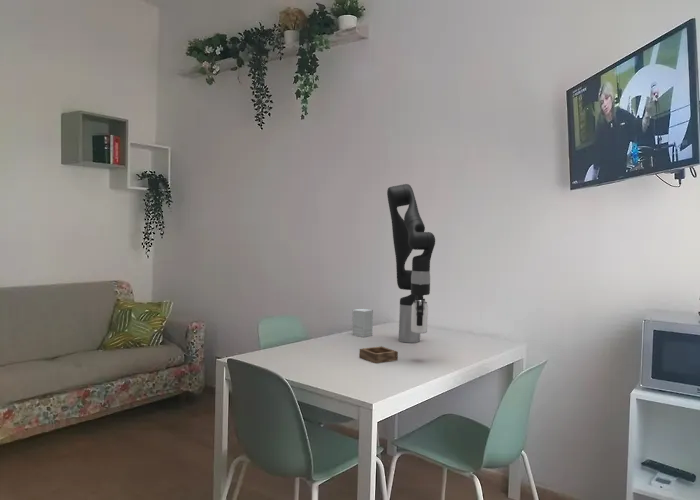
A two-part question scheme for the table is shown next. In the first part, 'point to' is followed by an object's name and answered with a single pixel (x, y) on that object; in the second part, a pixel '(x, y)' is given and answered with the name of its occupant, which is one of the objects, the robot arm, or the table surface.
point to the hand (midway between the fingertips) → (419, 323)
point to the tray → (378, 354)
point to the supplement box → (362, 322)
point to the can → (414, 319)
